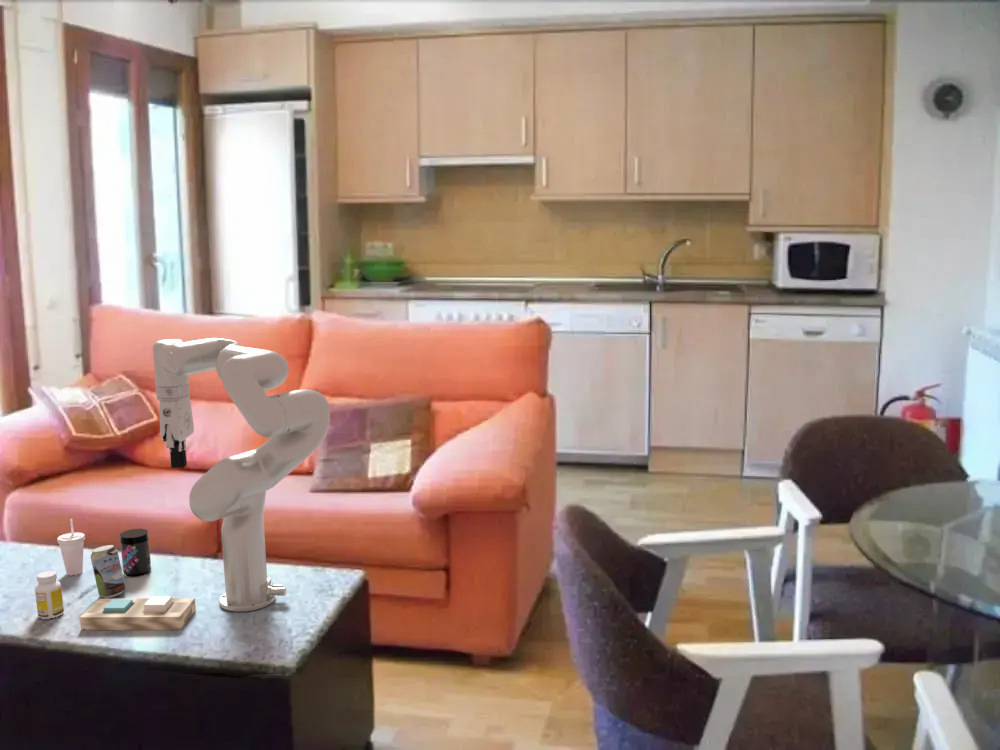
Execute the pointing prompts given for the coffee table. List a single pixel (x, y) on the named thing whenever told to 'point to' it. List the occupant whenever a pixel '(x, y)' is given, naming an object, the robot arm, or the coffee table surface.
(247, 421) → the robot arm
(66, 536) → the smoothie
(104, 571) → the beverage can
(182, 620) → the key block
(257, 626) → the coffee table surface
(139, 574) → the supplement container
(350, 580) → the coffee table surface
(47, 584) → the supplement bottle
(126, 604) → the teal key
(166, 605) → the white key
